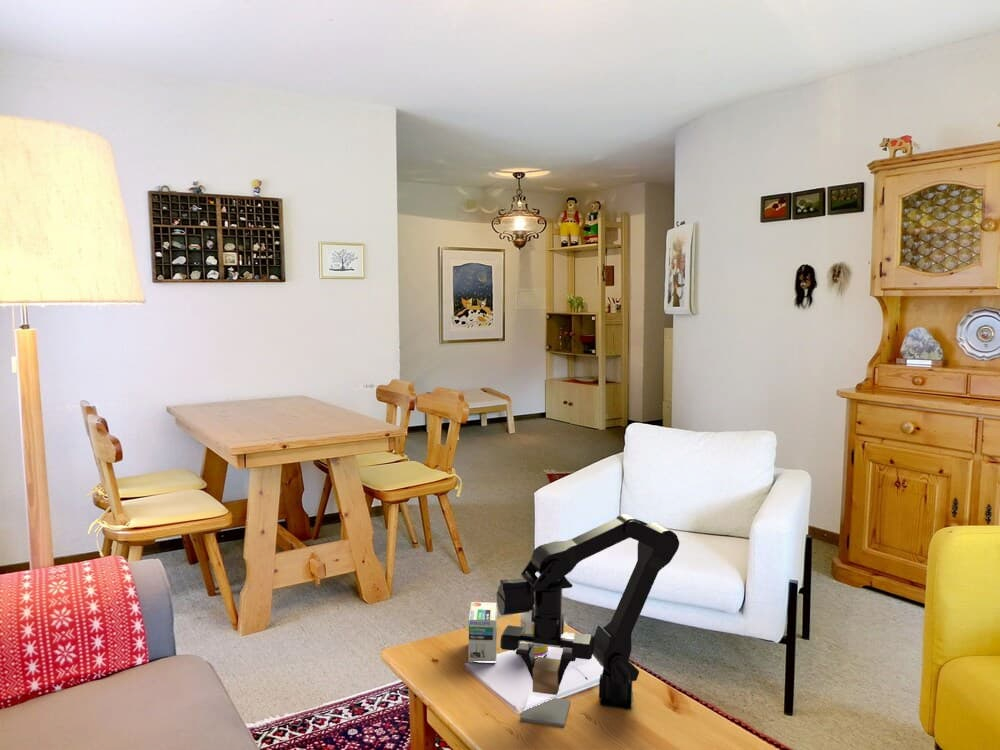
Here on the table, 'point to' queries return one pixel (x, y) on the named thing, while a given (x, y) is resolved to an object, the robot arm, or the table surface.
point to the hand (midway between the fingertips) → (546, 681)
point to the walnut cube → (546, 675)
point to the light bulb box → (482, 631)
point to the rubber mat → (548, 712)
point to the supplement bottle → (529, 629)
